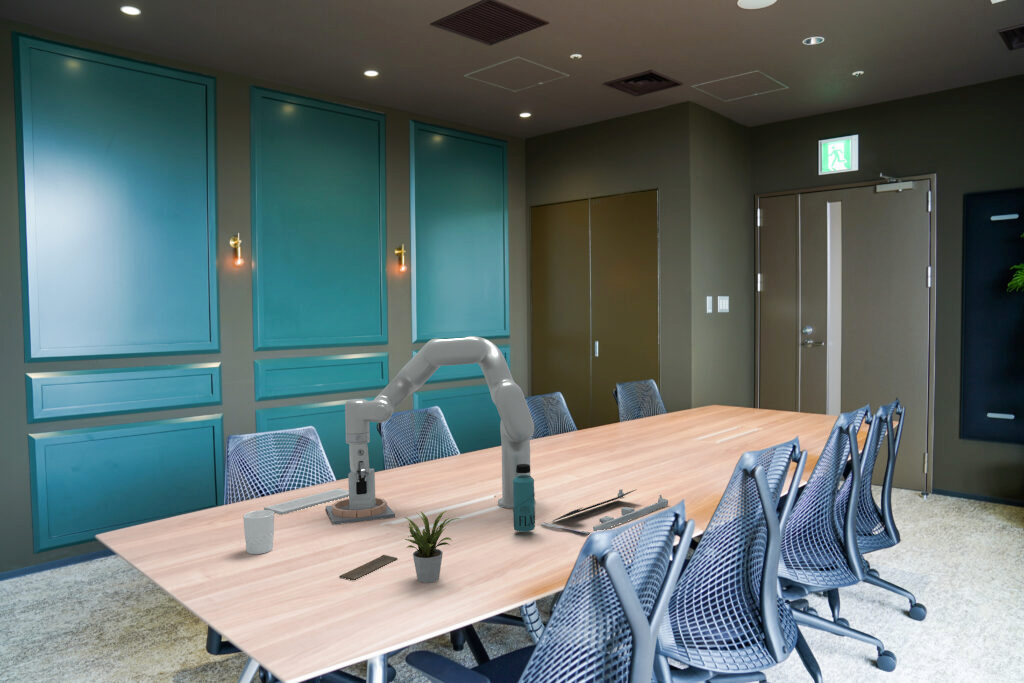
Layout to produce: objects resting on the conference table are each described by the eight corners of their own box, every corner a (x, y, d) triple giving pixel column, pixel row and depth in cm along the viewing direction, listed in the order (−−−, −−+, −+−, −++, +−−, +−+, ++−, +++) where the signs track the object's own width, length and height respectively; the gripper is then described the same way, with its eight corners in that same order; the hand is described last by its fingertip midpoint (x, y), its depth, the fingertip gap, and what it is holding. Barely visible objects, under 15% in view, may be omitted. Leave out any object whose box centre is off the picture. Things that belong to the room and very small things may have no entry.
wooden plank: (354, 578, 162) (338, 573, 165) (354, 583, 162) (338, 578, 165) (398, 557, 177) (382, 553, 179) (397, 562, 177) (382, 558, 179)
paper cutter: (668, 506, 223) (667, 490, 223) (583, 540, 191) (583, 520, 191) (622, 497, 236) (621, 481, 235) (535, 527, 203) (535, 508, 203)
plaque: (281, 512, 220) (264, 507, 226) (281, 516, 220) (264, 511, 226) (356, 492, 244) (338, 488, 250) (356, 496, 244) (338, 492, 250)
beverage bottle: (516, 538, 192) (515, 467, 192) (510, 531, 199) (509, 463, 198) (538, 535, 194) (537, 466, 193) (531, 529, 200) (530, 461, 200)
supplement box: (376, 506, 224) (375, 468, 224) (371, 512, 217) (370, 473, 216) (353, 506, 224) (352, 468, 224) (348, 513, 217) (347, 473, 216)
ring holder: (395, 517, 215) (394, 507, 215) (333, 524, 208) (333, 514, 208) (383, 502, 233) (382, 493, 233) (325, 509, 226) (325, 500, 225)
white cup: (265, 543, 191) (264, 508, 191) (280, 549, 186) (279, 513, 186) (238, 551, 185) (237, 514, 185) (254, 557, 180) (253, 519, 180)
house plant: (464, 566, 171) (463, 501, 170) (462, 588, 157) (461, 517, 156) (407, 568, 170) (405, 503, 170) (400, 590, 156) (398, 519, 156)
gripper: (374, 441, 213) (375, 495, 213) (364, 432, 229) (366, 483, 229) (350, 443, 210) (351, 498, 211) (342, 434, 226) (343, 485, 227)
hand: (359, 490), depth 220 cm, fingers open, 9 cm apart
